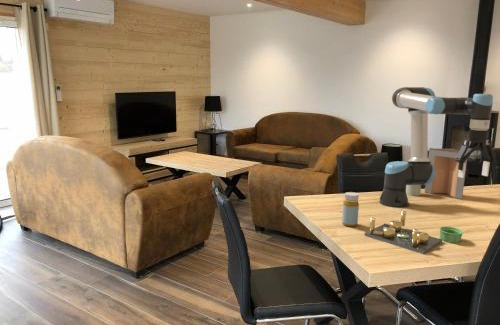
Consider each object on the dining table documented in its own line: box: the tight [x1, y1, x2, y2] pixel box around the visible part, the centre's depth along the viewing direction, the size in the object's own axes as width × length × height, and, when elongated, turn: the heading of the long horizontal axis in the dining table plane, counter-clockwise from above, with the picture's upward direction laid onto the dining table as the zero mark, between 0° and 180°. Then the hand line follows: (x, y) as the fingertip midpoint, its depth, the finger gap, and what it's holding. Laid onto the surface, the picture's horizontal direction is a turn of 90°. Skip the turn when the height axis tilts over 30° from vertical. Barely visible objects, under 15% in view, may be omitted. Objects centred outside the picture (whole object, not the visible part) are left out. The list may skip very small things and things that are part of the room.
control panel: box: [364, 223, 443, 255], centre depth 169 cm, size 26×18×2 cm
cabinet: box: [424, 147, 468, 200], centre depth 238 cm, size 21×10×28 cm, turn 47°
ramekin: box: [439, 226, 464, 244], centre depth 169 cm, size 9×9×4 cm
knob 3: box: [411, 228, 430, 246], centre depth 160 cm, size 11×5×7 cm, turn 133°
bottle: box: [341, 191, 360, 228], centre depth 184 cm, size 7×7×15 cm
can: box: [406, 185, 422, 197], centre depth 240 cm, size 9×9×12 cm
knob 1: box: [368, 217, 395, 238], centre depth 169 cm, size 10×5×7 cm, turn 63°
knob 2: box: [389, 210, 407, 231], centre depth 177 cm, size 10×5×7 cm, turn 133°
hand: (473, 176), depth 177 cm, fingers open, 13 cm apart
